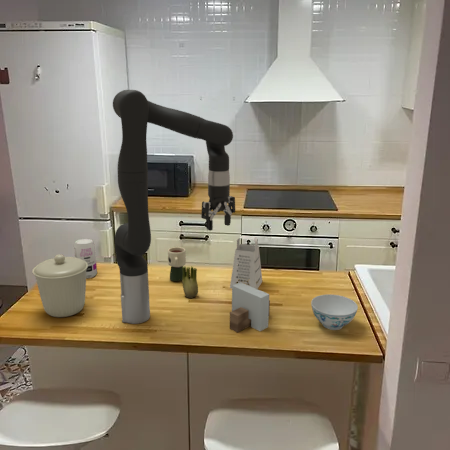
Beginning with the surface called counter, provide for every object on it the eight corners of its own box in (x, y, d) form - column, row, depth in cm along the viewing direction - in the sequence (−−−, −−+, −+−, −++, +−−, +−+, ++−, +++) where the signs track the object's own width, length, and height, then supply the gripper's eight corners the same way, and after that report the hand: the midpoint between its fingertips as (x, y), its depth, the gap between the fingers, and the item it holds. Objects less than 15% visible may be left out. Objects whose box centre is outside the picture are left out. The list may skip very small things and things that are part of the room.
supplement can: (88, 269, 200) (85, 236, 196) (101, 274, 196) (98, 240, 191) (72, 275, 194) (69, 241, 190) (85, 280, 189) (82, 246, 185)
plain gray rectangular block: (260, 331, 152) (261, 298, 149) (231, 317, 161) (232, 285, 157) (268, 327, 155) (269, 294, 151) (239, 313, 164) (240, 282, 160)
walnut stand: (237, 332, 151) (237, 315, 150) (229, 328, 154) (229, 312, 152) (269, 316, 162) (270, 300, 160) (261, 312, 164) (262, 297, 163)
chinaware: (354, 317, 162) (356, 296, 160) (356, 339, 148) (358, 317, 146) (311, 312, 165) (312, 292, 163) (308, 333, 151) (310, 312, 149)
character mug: (169, 274, 196) (168, 245, 192) (186, 274, 197) (185, 245, 193) (167, 285, 186) (166, 254, 182) (185, 285, 186) (185, 254, 182)
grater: (255, 291, 181) (256, 243, 175) (229, 288, 184) (230, 240, 178) (262, 281, 190) (263, 234, 184) (237, 277, 193) (238, 232, 187)
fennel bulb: (181, 295, 177) (180, 265, 174) (191, 291, 180) (191, 262, 177) (190, 300, 173) (189, 270, 170) (200, 296, 176) (200, 267, 173)
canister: (69, 327, 154) (63, 268, 148) (26, 317, 160) (18, 260, 154) (101, 303, 170) (97, 249, 164) (61, 295, 176) (55, 243, 170)
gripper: (211, 187, 154) (211, 234, 159) (240, 181, 164) (240, 225, 168) (196, 184, 159) (196, 229, 164) (226, 178, 169) (225, 221, 173)
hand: (218, 227), depth 166 cm, fingers open, 8 cm apart
